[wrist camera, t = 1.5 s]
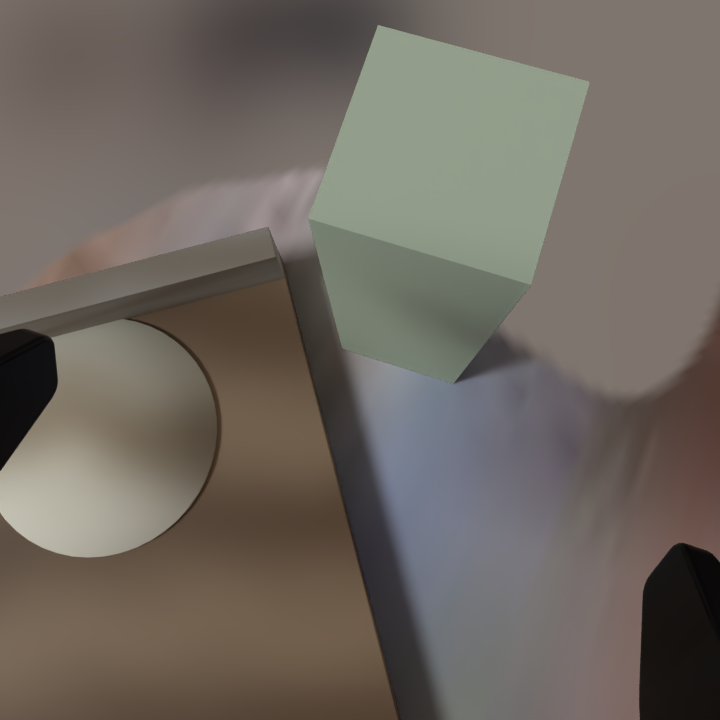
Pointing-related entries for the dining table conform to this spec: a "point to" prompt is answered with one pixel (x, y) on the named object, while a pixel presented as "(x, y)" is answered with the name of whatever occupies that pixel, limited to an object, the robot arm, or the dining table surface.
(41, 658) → the walnut board
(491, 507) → the dining table surface
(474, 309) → the sage block
